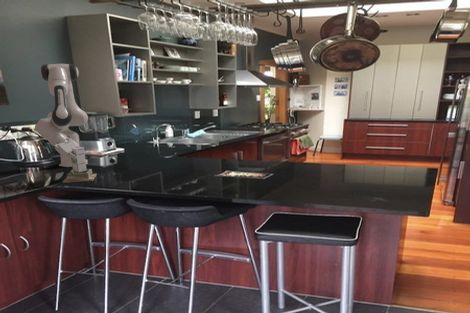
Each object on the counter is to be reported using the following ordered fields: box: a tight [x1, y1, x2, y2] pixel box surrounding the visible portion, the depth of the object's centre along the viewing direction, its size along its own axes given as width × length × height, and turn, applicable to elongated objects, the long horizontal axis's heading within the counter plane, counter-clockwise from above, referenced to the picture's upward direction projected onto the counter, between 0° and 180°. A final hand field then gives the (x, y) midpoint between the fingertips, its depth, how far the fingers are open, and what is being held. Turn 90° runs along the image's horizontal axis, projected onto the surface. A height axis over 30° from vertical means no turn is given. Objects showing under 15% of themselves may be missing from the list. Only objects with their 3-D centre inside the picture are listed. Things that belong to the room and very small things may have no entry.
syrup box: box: [71, 146, 87, 172], centre depth 197 cm, size 6×6×14 cm
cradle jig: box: [62, 168, 98, 184], centre depth 198 cm, size 14×16×4 cm
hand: (79, 157), depth 196 cm, fingers closed on syrup box, 8 cm apart
